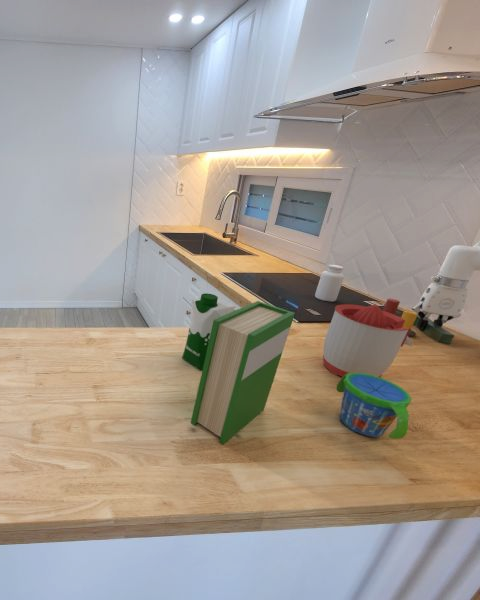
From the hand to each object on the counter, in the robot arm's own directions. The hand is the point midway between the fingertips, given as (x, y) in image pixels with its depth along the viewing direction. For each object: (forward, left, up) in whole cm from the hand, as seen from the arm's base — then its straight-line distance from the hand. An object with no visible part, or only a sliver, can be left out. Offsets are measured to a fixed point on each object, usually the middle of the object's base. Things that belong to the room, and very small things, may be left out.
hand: (427, 329), depth 121 cm
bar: (0, 0, -1) cm, 1 cm away
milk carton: (+78, +57, -1) cm, 97 cm away
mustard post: (+10, +6, -1) cm, 12 cm away
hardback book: (+72, +78, -1) cm, 106 cm away
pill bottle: (+26, -22, -1) cm, 34 cm away
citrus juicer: (+38, +45, -1) cm, 59 cm away
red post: (+10, -6, -1) cm, 12 cm away
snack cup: (+45, +70, -1) cm, 83 cm away
